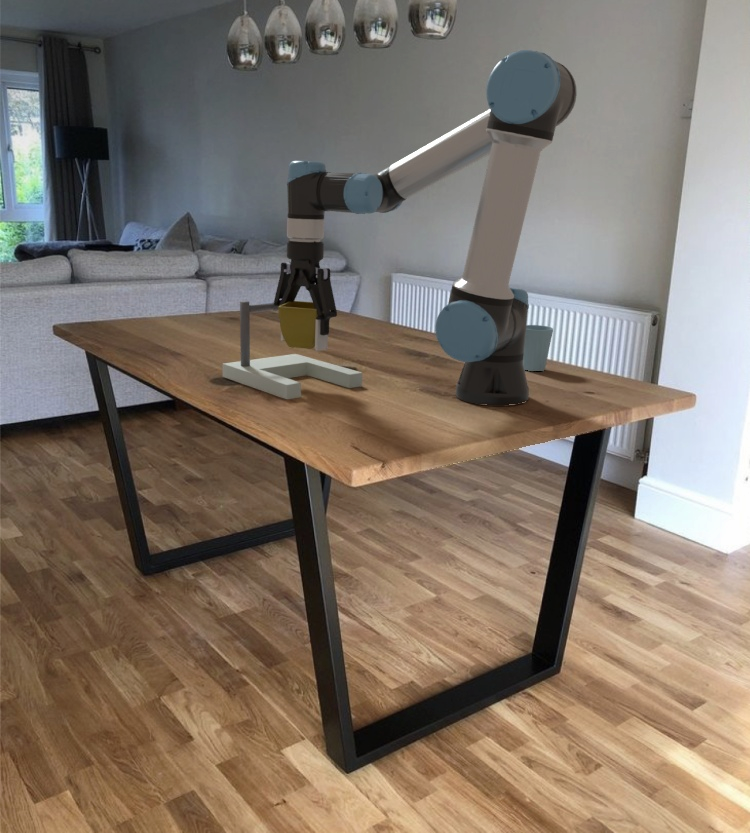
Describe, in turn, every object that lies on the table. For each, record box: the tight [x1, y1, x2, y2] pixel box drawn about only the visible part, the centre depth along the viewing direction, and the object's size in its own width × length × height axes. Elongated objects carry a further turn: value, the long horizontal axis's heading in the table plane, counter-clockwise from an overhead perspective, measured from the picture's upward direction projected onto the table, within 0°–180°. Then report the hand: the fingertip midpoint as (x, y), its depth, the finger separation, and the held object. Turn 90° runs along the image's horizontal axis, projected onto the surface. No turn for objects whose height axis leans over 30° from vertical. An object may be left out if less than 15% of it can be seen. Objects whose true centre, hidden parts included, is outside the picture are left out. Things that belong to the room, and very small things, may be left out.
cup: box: [523, 324, 554, 372], centre depth 195 cm, size 8×8×10 cm
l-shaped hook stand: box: [222, 300, 363, 400], centre depth 173 cm, size 24×20×17 cm
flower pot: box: [277, 300, 324, 350], centre depth 169 cm, size 9×9×9 cm
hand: (303, 345), depth 170 cm, fingers closed on flower pot, 11 cm apart
